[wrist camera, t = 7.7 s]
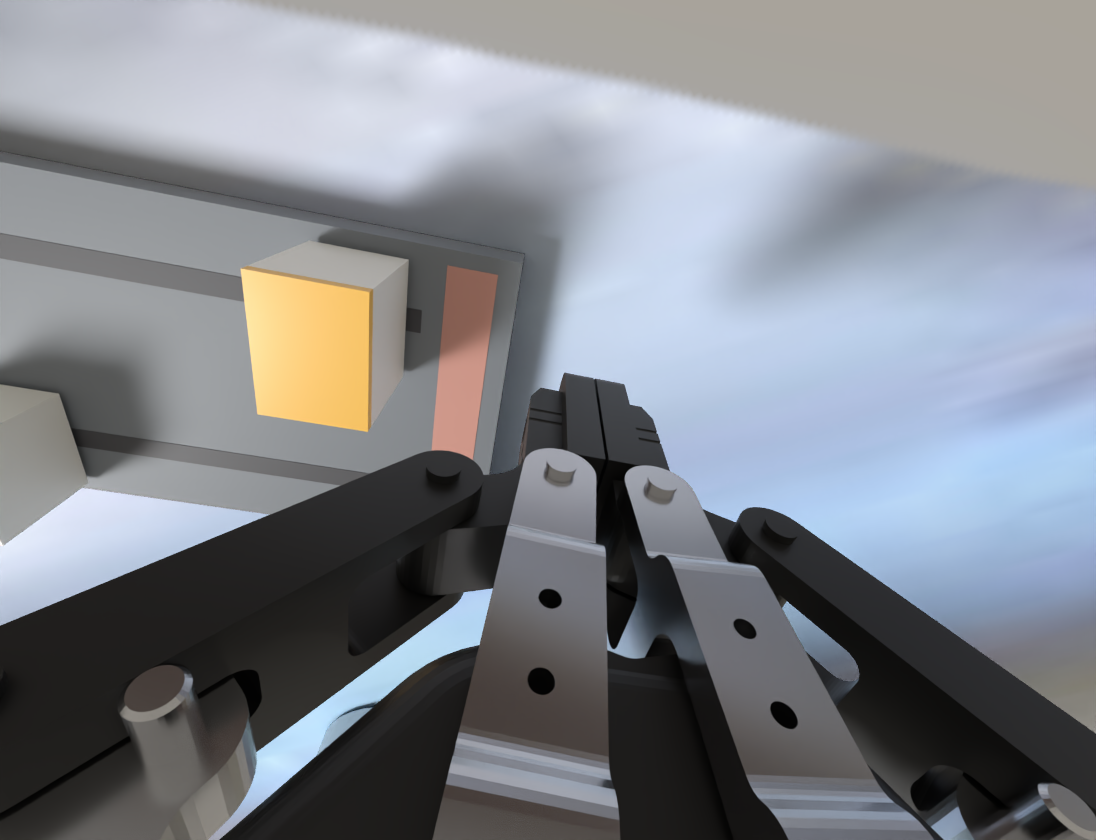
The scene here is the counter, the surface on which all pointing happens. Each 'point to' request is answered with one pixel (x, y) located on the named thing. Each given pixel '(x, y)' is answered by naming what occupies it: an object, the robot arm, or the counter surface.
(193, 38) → the counter surface
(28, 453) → the on breaker
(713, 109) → the counter surface
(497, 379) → the switch panel
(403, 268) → the block
